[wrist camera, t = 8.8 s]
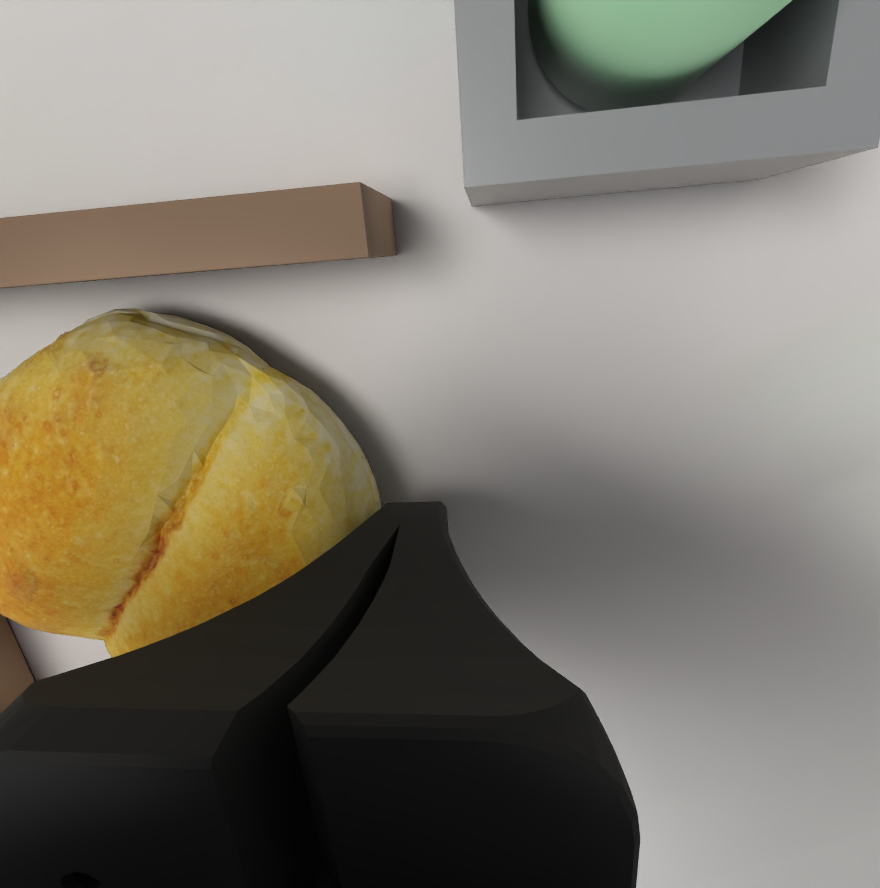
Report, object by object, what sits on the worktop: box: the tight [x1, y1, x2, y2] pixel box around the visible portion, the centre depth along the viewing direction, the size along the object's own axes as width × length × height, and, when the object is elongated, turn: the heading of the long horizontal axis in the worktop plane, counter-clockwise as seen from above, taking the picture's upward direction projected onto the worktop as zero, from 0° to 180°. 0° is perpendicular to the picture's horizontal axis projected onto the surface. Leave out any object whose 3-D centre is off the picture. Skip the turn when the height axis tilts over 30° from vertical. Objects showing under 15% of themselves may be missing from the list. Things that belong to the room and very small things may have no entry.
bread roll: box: [0, 309, 381, 657], centre depth 11 cm, size 8×9×4 cm
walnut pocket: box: [0, 182, 397, 713], centre depth 11 cm, size 14×13×2 cm
